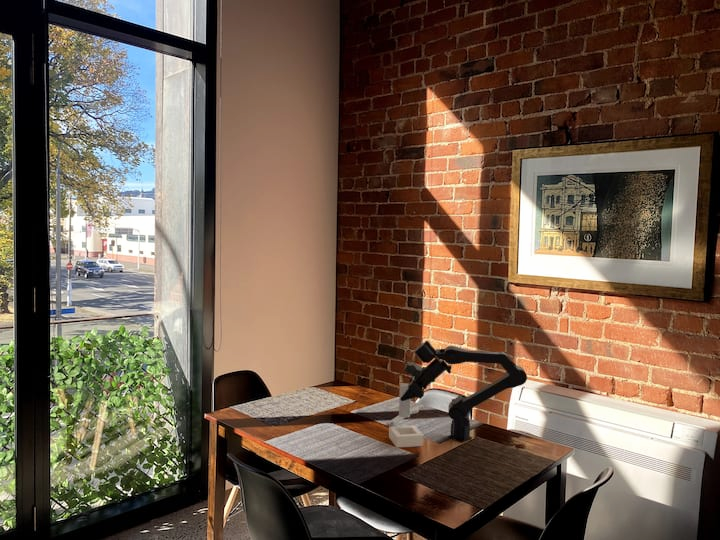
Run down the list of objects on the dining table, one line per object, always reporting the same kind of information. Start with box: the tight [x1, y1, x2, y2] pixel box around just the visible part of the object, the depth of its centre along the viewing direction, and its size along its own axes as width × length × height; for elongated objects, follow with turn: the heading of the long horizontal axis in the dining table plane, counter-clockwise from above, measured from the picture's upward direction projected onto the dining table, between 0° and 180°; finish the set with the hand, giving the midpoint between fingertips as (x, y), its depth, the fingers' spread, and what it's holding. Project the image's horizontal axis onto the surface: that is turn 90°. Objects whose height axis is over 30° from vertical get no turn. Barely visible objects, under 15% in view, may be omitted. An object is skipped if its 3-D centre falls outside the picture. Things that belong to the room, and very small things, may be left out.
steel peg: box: [398, 382, 412, 419], centre depth 221 cm, size 4×4×12 cm
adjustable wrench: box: [387, 406, 420, 427], centre depth 241 cm, size 25×6×2 cm, turn 149°
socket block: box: [388, 425, 425, 448], centre depth 214 cm, size 10×10×4 cm
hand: (401, 398), depth 221 cm, fingers closed on steel peg, 4 cm apart
